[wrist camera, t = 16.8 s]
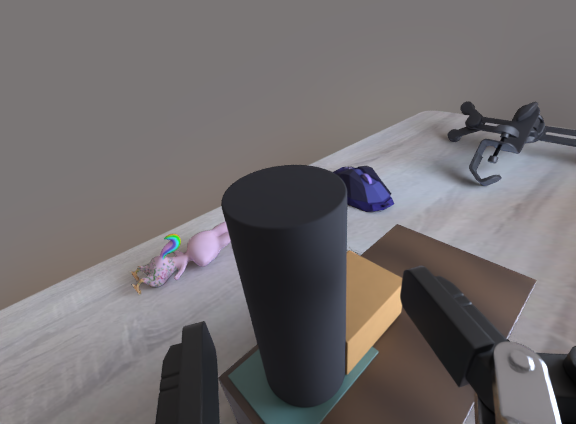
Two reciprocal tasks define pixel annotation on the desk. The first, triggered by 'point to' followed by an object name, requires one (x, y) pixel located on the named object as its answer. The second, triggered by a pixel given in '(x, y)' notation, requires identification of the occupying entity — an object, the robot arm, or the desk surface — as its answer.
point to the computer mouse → (365, 188)
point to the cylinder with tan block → (305, 280)
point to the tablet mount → (508, 134)
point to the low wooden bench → (393, 349)
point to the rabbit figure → (183, 256)
